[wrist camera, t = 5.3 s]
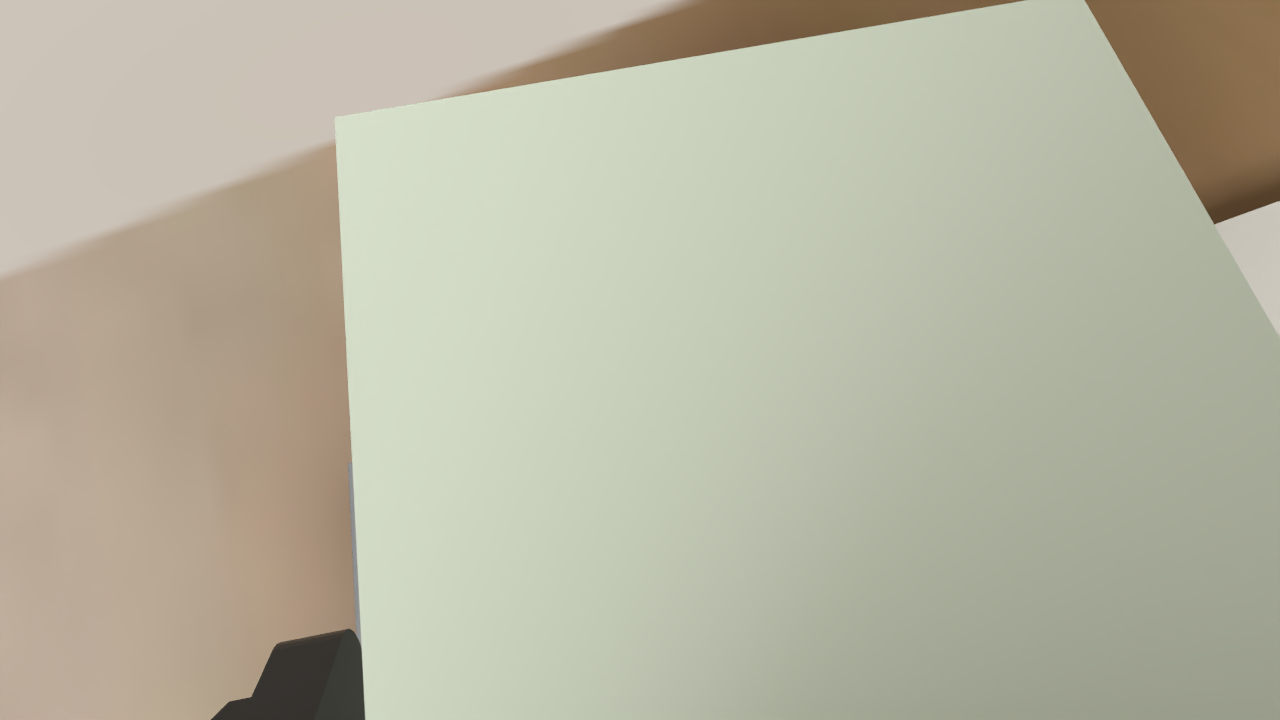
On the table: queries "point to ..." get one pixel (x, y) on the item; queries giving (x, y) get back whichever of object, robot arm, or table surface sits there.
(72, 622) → the table surface
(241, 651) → the table surface
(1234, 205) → the table surface
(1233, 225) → the mat
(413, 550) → the pale green pillar
